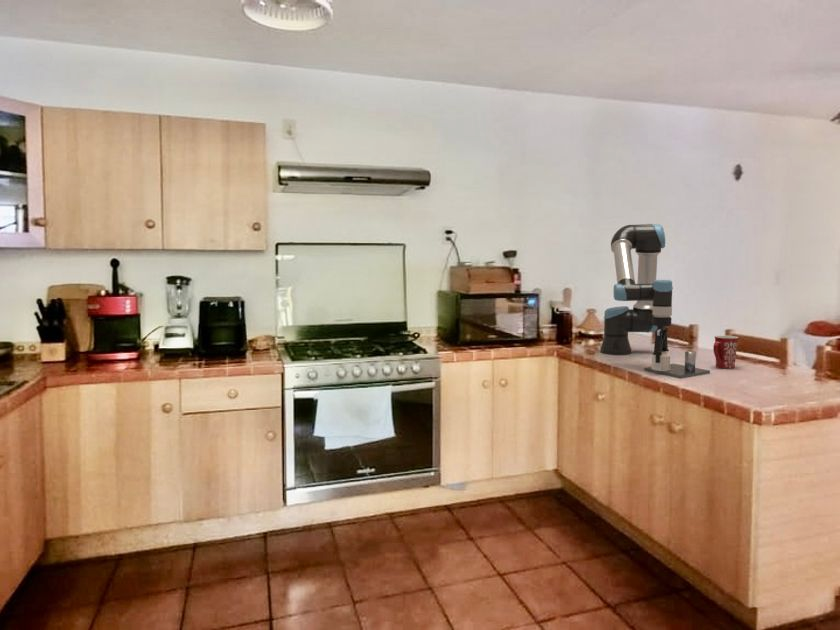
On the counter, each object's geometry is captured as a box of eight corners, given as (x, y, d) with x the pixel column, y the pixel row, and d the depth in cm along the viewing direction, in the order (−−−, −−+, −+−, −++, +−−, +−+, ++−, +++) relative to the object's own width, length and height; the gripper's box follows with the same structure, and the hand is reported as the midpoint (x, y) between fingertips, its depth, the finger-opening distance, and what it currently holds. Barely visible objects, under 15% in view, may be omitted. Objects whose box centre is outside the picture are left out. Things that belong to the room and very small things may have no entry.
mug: (721, 364, 250) (722, 334, 248) (741, 367, 242) (742, 336, 240) (703, 367, 244) (704, 337, 242) (723, 371, 236) (724, 339, 234)
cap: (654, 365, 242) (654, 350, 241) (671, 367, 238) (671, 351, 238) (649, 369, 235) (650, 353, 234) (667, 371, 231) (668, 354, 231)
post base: (644, 370, 240) (644, 350, 239) (673, 366, 248) (674, 346, 247) (680, 378, 224) (680, 356, 223) (710, 373, 232) (710, 352, 231)
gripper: (657, 313, 246) (656, 363, 248) (646, 318, 227) (645, 371, 229) (676, 314, 242) (674, 365, 244) (666, 318, 223) (664, 373, 225)
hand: (660, 368), depth 236 cm, fingers open, 10 cm apart
